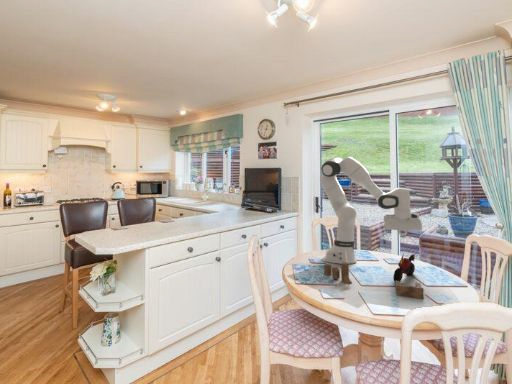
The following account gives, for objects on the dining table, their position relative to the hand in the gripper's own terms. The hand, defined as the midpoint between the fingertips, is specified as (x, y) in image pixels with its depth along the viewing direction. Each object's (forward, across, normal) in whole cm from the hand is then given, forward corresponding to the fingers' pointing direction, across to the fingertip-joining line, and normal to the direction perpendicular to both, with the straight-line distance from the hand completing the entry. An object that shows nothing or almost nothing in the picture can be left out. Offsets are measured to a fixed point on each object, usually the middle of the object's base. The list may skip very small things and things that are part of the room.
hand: (402, 237), depth 166 cm
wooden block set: (+22, -34, -28) cm, 49 cm away
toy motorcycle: (+23, 0, -10) cm, 25 cm away
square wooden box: (+22, 0, -33) cm, 40 cm away
